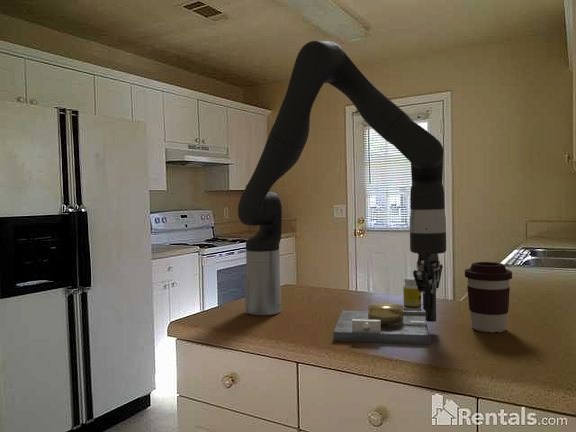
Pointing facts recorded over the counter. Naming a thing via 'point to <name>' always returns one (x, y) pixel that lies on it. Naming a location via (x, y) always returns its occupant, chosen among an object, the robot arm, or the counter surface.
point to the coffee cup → (488, 295)
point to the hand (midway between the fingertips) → (429, 310)
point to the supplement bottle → (411, 294)
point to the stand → (380, 329)
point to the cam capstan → (396, 313)
